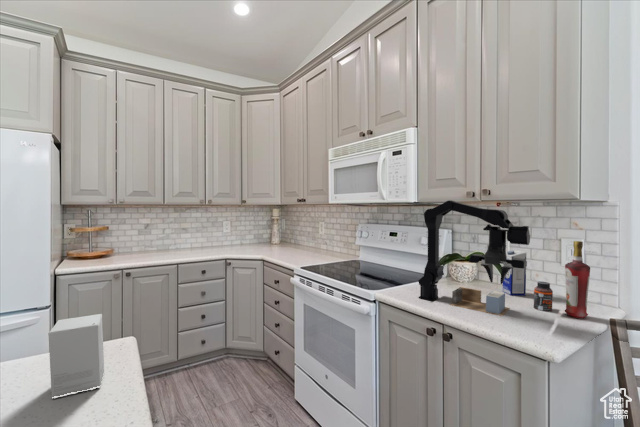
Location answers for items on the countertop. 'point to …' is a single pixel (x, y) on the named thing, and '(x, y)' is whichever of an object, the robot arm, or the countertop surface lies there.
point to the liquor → (577, 284)
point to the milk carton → (515, 276)
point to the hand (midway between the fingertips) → (496, 283)
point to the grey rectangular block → (495, 302)
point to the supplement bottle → (543, 296)
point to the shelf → (471, 300)
